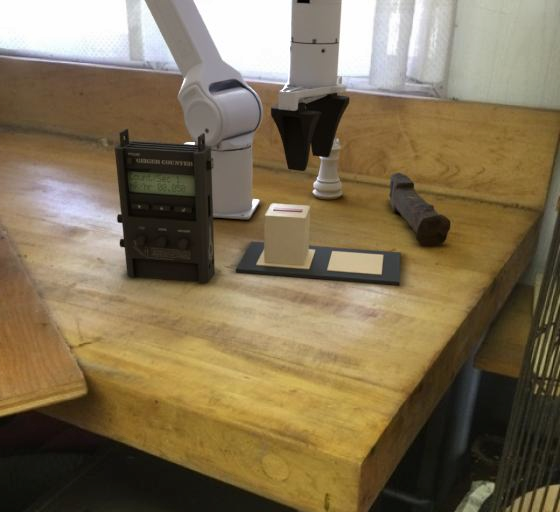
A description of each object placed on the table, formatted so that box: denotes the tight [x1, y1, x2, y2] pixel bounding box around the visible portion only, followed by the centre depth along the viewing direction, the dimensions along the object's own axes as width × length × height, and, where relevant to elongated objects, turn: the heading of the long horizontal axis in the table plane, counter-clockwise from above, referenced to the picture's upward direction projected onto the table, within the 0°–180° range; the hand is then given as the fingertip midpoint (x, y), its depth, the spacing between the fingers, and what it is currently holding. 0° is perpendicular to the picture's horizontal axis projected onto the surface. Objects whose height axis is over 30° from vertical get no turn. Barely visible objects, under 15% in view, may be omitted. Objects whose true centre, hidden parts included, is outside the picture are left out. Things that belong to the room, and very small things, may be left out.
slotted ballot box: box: [263, 202, 311, 265], centre depth 79 cm, size 4×4×6 cm
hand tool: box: [389, 172, 451, 247], centre depth 92 cm, size 19×4×5 cm, turn 5°
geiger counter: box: [114, 128, 216, 285], centre depth 72 cm, size 10×4×15 cm, turn 80°
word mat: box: [235, 241, 402, 286], centre depth 80 cm, size 18×9×1 cm, turn 81°
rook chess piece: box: [312, 137, 343, 200], centre depth 101 cm, size 4×4×8 cm
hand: (309, 162), depth 86 cm, fingers open, 7 cm apart
